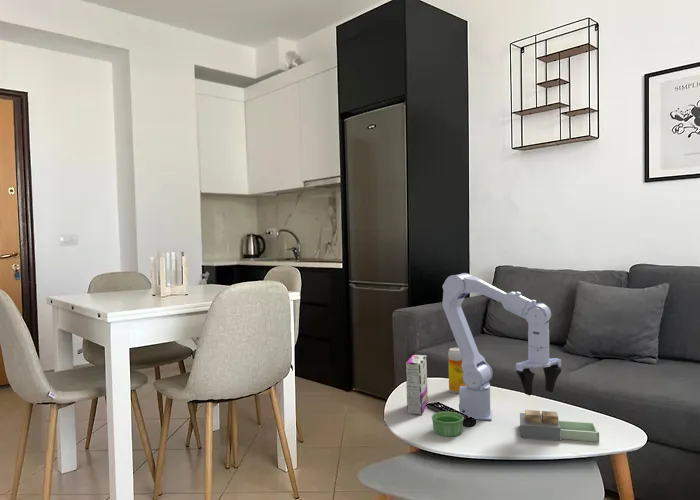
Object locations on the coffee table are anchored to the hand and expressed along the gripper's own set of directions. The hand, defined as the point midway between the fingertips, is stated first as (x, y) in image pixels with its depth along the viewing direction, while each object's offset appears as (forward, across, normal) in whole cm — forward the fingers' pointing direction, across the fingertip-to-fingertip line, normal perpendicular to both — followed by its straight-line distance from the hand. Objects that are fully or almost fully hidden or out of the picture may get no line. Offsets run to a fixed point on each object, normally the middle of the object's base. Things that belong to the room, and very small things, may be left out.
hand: (538, 392), depth 152 cm
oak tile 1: (+6, -4, -3) cm, 8 cm away
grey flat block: (+10, -3, -4) cm, 11 cm away
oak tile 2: (+6, -1, -5) cm, 8 cm away
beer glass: (+10, -3, +39) cm, 40 cm away
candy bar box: (+10, -25, +28) cm, 39 cm away
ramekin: (+10, -26, +8) cm, 29 cm away
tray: (+10, +5, -10) cm, 15 cm away
